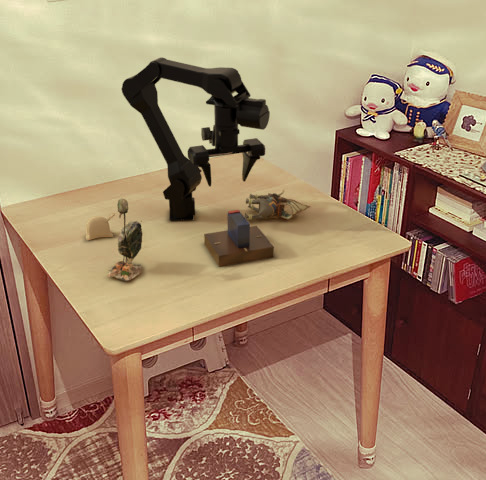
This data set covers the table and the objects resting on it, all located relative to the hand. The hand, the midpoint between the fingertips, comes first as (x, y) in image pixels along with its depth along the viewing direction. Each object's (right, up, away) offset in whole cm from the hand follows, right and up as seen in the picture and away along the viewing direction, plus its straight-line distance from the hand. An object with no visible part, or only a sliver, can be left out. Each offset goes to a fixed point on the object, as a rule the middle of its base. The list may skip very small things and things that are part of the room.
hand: (226, 183), depth 183 cm
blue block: (+3, -15, -7) cm, 17 cm away
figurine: (+14, -7, +11) cm, 19 cm away
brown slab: (+3, -18, -5) cm, 19 cm away
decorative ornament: (-33, -13, +4) cm, 35 cm away
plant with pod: (-24, -23, -12) cm, 35 cm away
